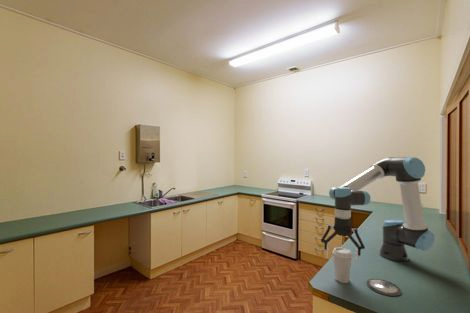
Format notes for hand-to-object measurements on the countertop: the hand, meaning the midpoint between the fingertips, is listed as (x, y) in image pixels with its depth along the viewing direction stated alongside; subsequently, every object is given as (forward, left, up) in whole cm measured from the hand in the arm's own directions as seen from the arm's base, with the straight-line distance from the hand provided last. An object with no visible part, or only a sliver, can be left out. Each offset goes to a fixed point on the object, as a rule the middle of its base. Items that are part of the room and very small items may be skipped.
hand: (341, 258), depth 116 cm
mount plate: (-1, +18, -11) cm, 21 cm away
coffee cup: (0, 0, -11) cm, 11 cm away
